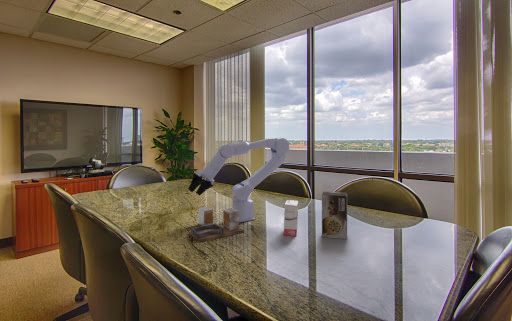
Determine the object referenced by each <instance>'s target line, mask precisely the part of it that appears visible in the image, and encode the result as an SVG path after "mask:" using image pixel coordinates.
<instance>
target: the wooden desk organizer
mask: <svg viewBox="0 0 512 321" xmlns="http://www.w3.org/2000/svg"><path fill="white" fill-rule="evenodd" d="M222 212H223V213H222V214H223V216H222V218H223V224H216V223H213V224H210V225H205V226H201V225H199V226H196V227H191V228H190V230H188V234H189V235H190V236H191V237H193V238H194V239H195V240H196V241H197V242H198V243H201V242H206V241H211V240H215V239H221V238H224V237H229V236H234V235H237V234H243V233H245V229H244V228H242V227H240V222H239V211H238V210H235V209H233V208H232V207H230V208H225V209H224V208H223V210H222Z"/></svg>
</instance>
